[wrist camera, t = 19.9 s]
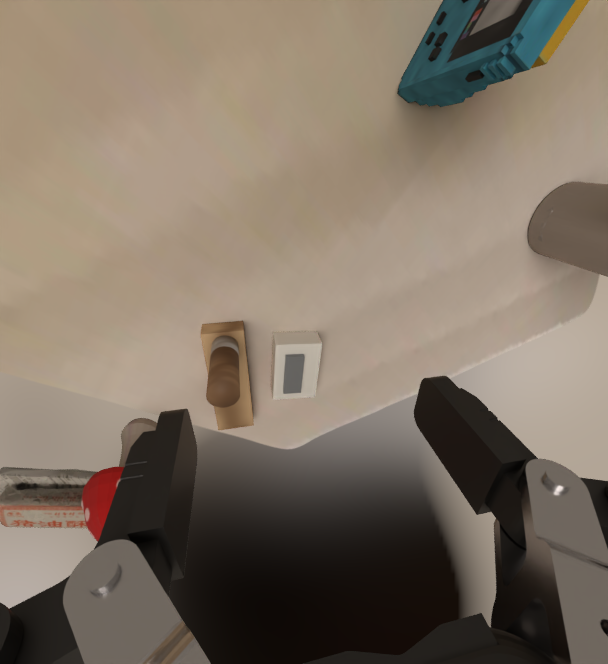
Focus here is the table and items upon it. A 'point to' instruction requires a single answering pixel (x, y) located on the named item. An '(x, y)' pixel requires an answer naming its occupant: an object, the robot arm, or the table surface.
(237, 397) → the brown cylinder
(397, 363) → the table surface
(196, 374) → the table surface
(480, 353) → the table surface
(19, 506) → the packaged product
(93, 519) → the decorative mushroom
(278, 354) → the block
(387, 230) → the table surface
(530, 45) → the handheld gaming console
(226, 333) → the batten
